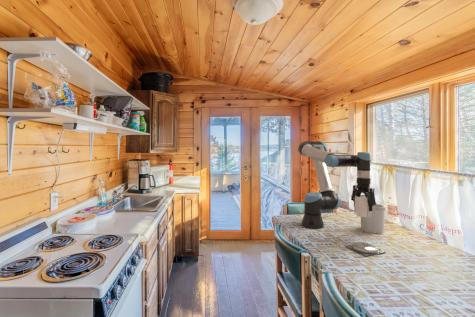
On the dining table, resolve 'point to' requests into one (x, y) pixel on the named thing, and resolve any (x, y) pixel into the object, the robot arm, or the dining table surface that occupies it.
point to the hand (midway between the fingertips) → (362, 214)
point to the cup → (361, 205)
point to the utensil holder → (374, 220)
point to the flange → (365, 249)
